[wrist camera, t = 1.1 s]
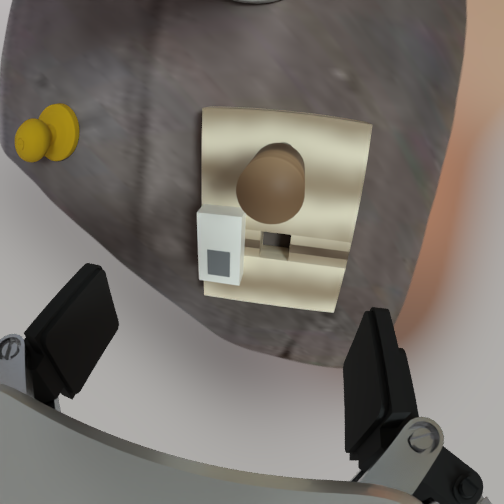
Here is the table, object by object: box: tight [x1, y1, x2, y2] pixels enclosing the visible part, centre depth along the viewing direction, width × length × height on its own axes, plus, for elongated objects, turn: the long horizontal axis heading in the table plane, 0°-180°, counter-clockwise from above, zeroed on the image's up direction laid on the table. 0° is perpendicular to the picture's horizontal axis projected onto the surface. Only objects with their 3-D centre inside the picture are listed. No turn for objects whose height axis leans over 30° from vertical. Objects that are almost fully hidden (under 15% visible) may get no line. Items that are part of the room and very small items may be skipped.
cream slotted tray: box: [202, 106, 372, 313], centre depth 33 cm, size 22×16×3 cm
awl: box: [236, 142, 305, 224], centre depth 23 cm, size 4×4×12 cm
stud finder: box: [197, 204, 246, 286], centre depth 32 cm, size 8×4×2 cm, turn 176°
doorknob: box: [15, 103, 79, 162], centre depth 30 cm, size 8×8×8 cm
